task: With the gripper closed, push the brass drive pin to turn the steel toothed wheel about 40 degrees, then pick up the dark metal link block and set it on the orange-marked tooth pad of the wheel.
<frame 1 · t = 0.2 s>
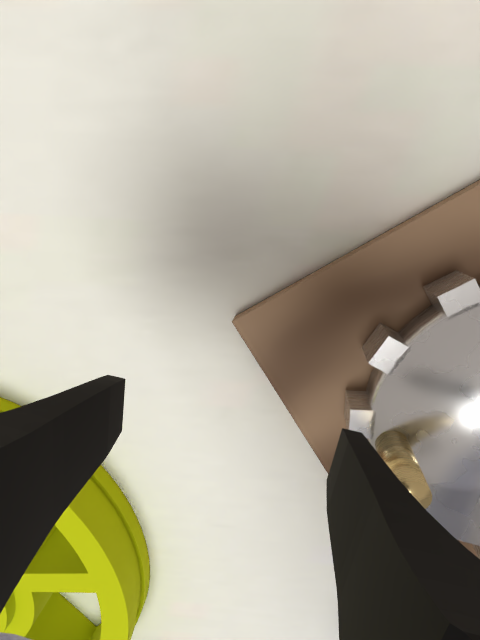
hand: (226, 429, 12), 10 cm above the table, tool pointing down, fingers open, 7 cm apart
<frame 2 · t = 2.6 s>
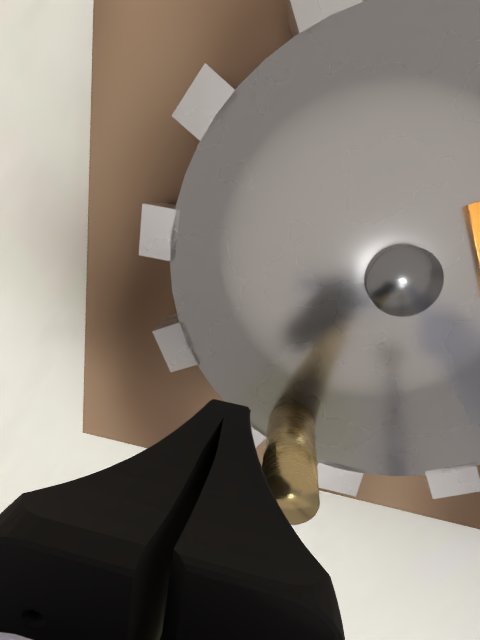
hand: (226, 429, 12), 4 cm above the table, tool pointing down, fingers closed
base board: (378, 261, 14), on the table
wheel: (406, 283, 10), point 4 cm above the table, hinge at 0.0°, touching gripper
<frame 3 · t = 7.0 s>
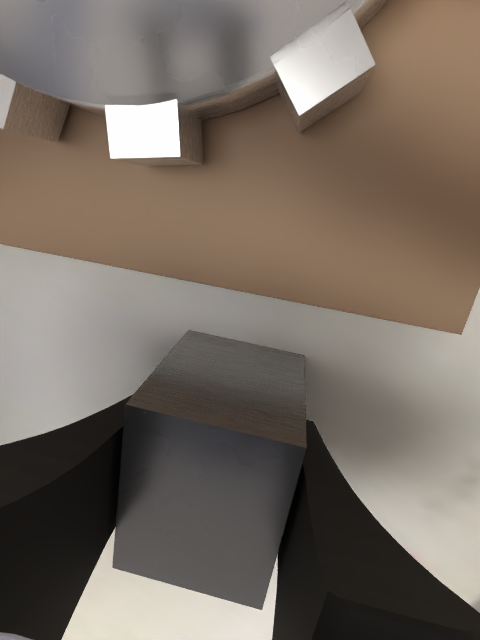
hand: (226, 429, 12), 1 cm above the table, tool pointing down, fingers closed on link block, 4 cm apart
link block: (233, 404, 13), on the table, touching gripper
when the fingers open (6 cm above the table, at t = 10.4 s): link block stays where it is, resting on wheel.
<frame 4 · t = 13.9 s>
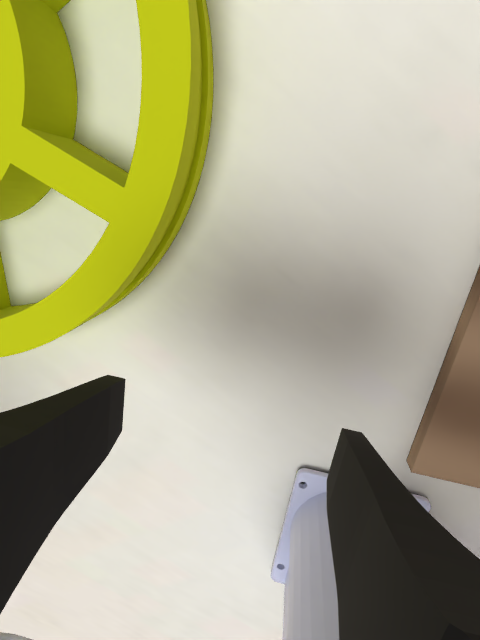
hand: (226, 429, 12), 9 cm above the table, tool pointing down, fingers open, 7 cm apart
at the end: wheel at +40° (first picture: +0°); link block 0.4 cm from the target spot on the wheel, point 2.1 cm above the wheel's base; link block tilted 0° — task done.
